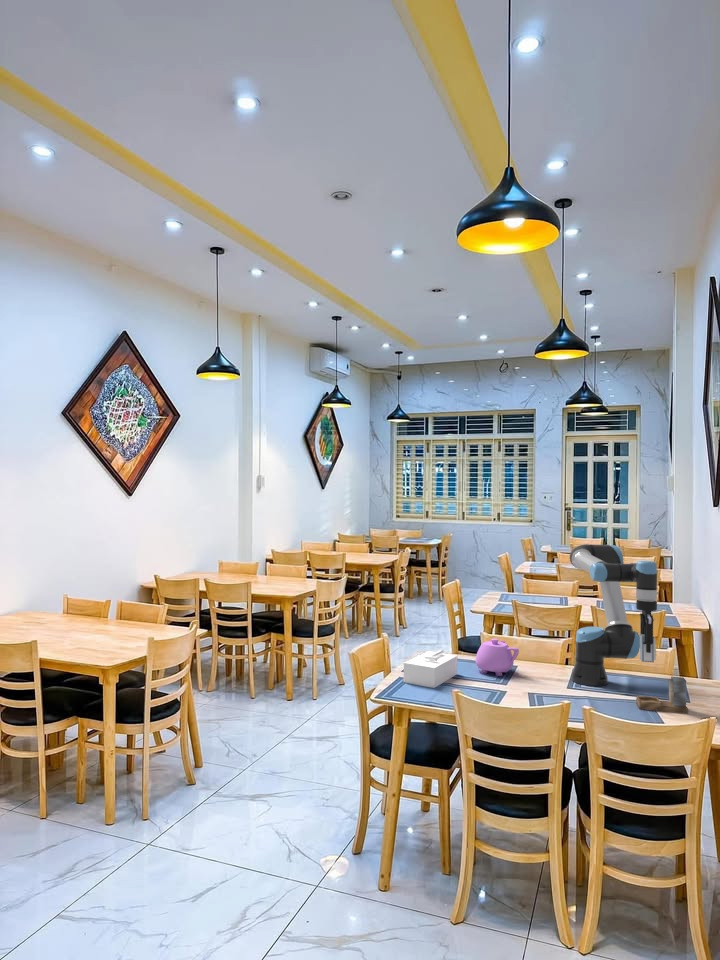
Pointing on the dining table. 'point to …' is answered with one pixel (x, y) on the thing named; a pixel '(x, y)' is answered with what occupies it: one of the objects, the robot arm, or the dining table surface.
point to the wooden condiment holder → (675, 698)
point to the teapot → (495, 657)
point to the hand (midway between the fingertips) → (646, 659)
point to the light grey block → (642, 639)
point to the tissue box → (430, 669)
